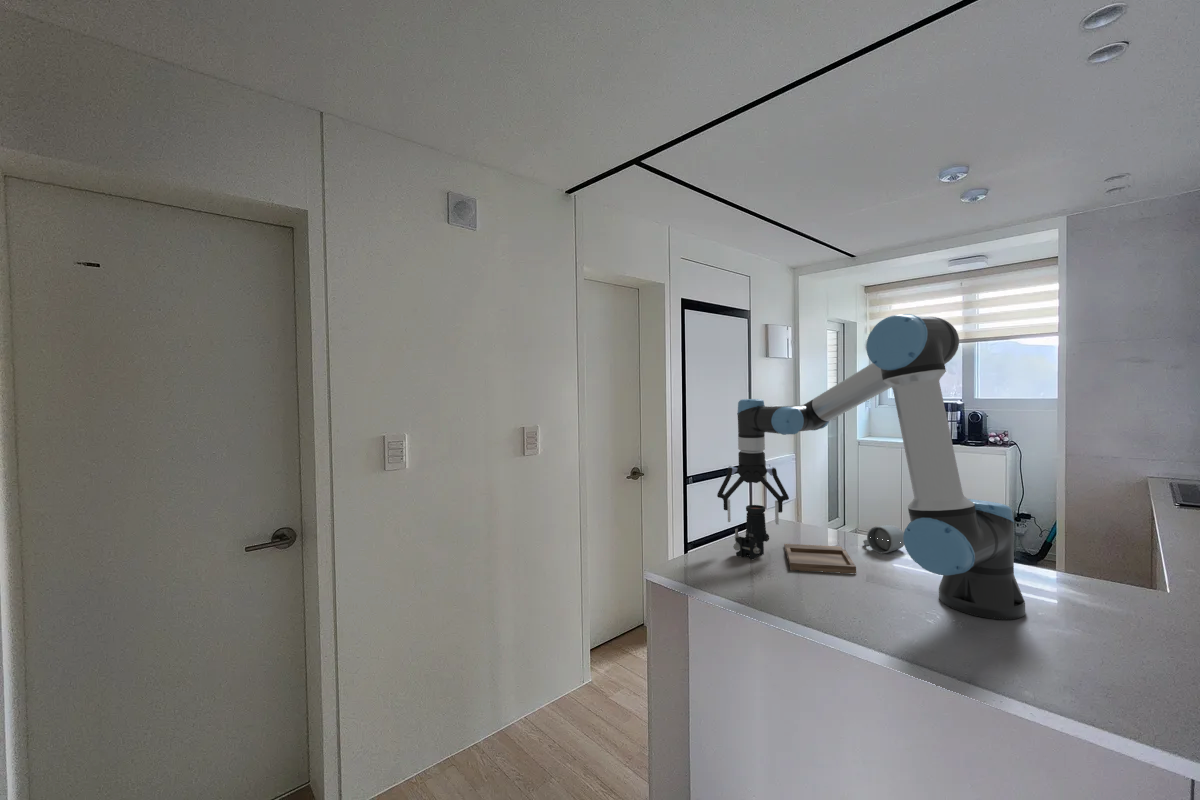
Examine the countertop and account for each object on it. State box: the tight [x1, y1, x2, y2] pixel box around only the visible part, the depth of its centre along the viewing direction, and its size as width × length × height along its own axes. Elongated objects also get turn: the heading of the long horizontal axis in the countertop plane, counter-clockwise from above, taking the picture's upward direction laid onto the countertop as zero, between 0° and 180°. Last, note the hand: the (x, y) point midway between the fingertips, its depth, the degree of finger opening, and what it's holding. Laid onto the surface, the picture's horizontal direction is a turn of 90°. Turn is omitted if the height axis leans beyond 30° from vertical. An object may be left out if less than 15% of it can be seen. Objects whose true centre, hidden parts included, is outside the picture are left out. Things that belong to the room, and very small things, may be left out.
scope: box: [733, 504, 770, 560], centre depth 147 cm, size 8×14×10 cm
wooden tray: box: [784, 543, 857, 574], centre depth 140 cm, size 20×16×2 cm
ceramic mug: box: [862, 524, 905, 554], centre depth 147 cm, size 11×8×8 cm
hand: (752, 522), depth 147 cm, fingers open, 13 cm apart
